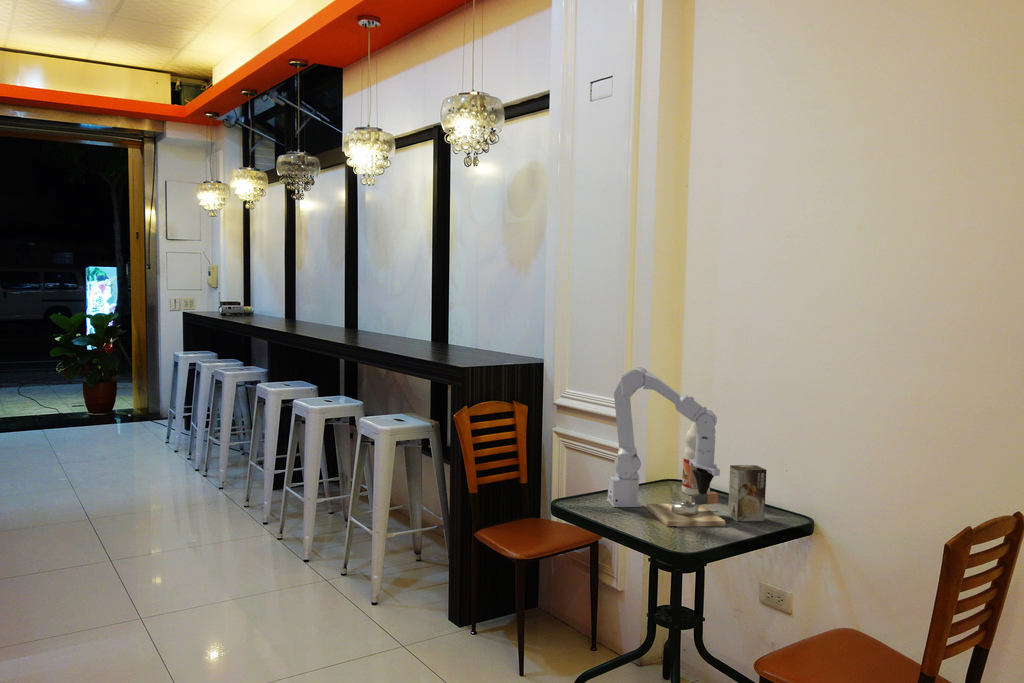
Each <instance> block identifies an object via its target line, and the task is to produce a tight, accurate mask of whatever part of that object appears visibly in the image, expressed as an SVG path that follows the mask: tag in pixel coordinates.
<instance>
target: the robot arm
mask: <svg viewBox="0 0 1024 683" xmlns="http://www.w3.org/2000/svg"><path fill="white" fill-rule="evenodd" d="M641 388H642V389H643V390H651V391H655V392H656V393H658V394H659V395H661V396H662V397H664V398H665V399H666V400H668V401H670V402H671V403H673V404H674V406H675V410H676V411H677V412H678V413H679V414H681V415H682V416H684V417H685V418H687V419H688V420H689V421H691V422H695V423H696V426H697V435H696V451H695V459H689V465H690V466H695V467H697V469H696V470H693V474H694V476H695V478H696V482H697V486H698V491H699V493H700V494H707V491H708V488H709V485H710V486H711V482H712V481H713V479H714V477H718V476H719V477H720V474H721V469H720V468H718V467H717V466H718V464H717V463H715V450H716V428H715V427H716V425H717V422H718V418H717V415H716V414H715V412H713V411H712V410H709V409H708V408H707V407H706V406H703V405H701V404H700V403H698V402H697V401H696V400H695V399H696V398H695V397H694V396H689V395H680V394H679V393H678V392H677V391H676V390H675V389H673V388H672V387H670V386H669V385H668V384H667V383H665V382H664V381H663V380H662V379H660V378H659V377H658V376H656V375H655V374H654V373H652V372H650V371H648V370H647V369H645V368H643V367H640V366H639V367H635V368H632V369H629V370H627V371H626V372H625V373H624V374H623V375H622V376H621V377H620V380H619V383H618V384H617V386H616V388H615V390H614V391H613V392H614V393H613V396H614V397H613V400H614V409H615V419H616V430H617V431H616V432H617V439H618V440H617V441H618V451H617V462H616V465H615V470H616V475H615V476H610V477H609V478H608V488H607V498H606V501H607V502H608V503H609V504H610V505H611V506H612V507H613V508H642V507H643V504H641V503H640V502H639V492H640V490H639V489H640V488H639V485H640V475H639V474H638V473H639V472H638V471H639V470H640V468H641V466H642V463H641V462H642V461H641V458H639V456H638V451H637V448H636V446H635V438H634V437H635V435H634V427H633V426H634V425H633V424H634V423H633V416H632V414H633V413H632V404H631V403H632V402H631V397H632V396H633V395H634V394H635V393H636V392H637V390H639V389H641Z"/></svg>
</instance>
